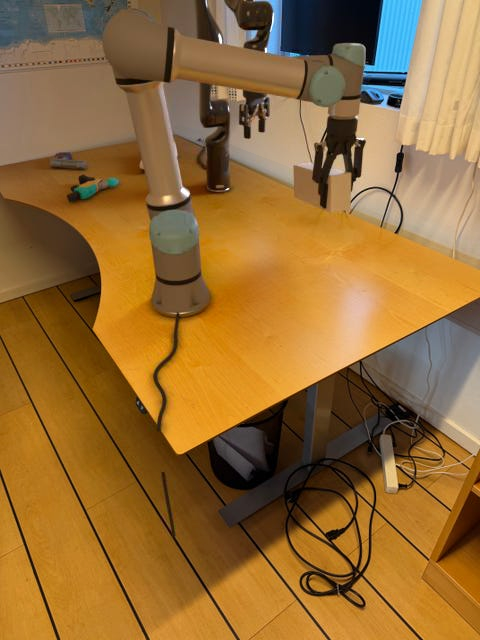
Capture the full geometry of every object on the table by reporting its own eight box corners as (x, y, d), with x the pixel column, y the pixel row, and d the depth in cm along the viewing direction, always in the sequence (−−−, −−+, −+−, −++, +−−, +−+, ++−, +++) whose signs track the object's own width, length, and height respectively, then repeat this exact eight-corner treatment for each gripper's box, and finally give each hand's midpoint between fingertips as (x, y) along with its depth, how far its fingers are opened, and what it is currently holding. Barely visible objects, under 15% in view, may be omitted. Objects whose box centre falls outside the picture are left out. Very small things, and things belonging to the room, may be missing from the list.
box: (350, 210, 128) (351, 172, 124) (330, 213, 127) (331, 175, 123) (311, 194, 151) (310, 162, 146) (294, 197, 149) (293, 164, 145)
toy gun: (98, 160, 223) (83, 171, 211) (61, 158, 226) (45, 169, 214) (96, 152, 220) (81, 162, 208) (59, 150, 223) (43, 160, 212)
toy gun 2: (44, 189, 181) (74, 196, 175) (91, 169, 199) (119, 175, 193) (47, 200, 183) (76, 207, 178) (93, 180, 202) (121, 186, 196)
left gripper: (369, 109, 122) (358, 195, 136) (301, 115, 118) (296, 204, 132) (384, 115, 116) (371, 205, 130) (314, 123, 112) (307, 214, 126)
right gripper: (257, 75, 151) (256, 128, 160) (231, 82, 141) (232, 138, 151) (277, 77, 147) (275, 131, 157) (252, 85, 138) (252, 142, 147)
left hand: (333, 204), depth 131 cm, fingers closed on box, 6 cm apart
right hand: (254, 135), depth 154 cm, fingers open, 8 cm apart
